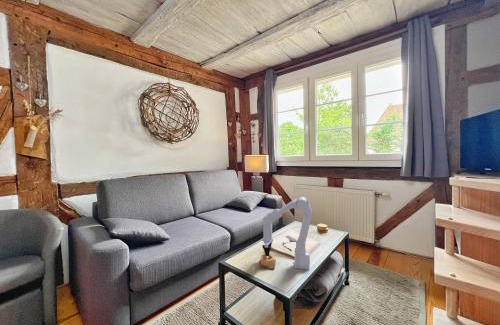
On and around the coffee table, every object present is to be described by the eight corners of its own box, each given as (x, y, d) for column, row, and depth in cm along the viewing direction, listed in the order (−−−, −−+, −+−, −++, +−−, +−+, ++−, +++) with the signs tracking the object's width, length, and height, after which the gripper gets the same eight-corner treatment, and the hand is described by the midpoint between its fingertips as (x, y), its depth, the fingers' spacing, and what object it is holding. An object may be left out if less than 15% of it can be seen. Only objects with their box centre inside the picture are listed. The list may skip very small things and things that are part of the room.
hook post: (269, 262, 138) (268, 256, 137) (268, 263, 136) (268, 257, 135) (266, 261, 138) (265, 255, 138) (265, 263, 136) (265, 257, 136)
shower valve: (293, 234, 172) (305, 241, 158) (293, 240, 172) (305, 248, 159) (280, 236, 167) (291, 244, 153) (280, 243, 167) (291, 251, 154)
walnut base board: (275, 261, 141) (275, 259, 141) (274, 269, 131) (274, 267, 131) (261, 259, 143) (261, 258, 143) (258, 268, 133) (258, 266, 133)
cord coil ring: (274, 259, 140) (274, 254, 140) (273, 266, 132) (273, 261, 132) (262, 258, 142) (262, 253, 142) (260, 265, 134) (259, 259, 134)
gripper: (263, 228, 147) (263, 247, 148) (259, 237, 133) (260, 258, 134) (273, 229, 145) (273, 248, 146) (271, 238, 131) (271, 259, 132)
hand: (268, 253), depth 140 cm, fingers open, 7 cm apart
